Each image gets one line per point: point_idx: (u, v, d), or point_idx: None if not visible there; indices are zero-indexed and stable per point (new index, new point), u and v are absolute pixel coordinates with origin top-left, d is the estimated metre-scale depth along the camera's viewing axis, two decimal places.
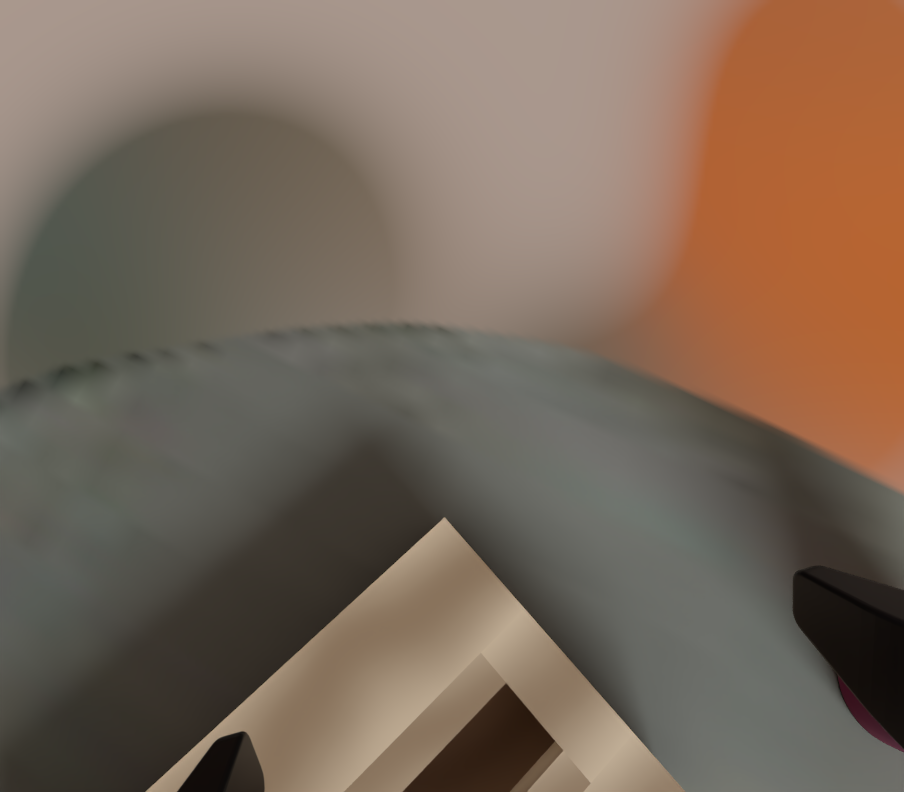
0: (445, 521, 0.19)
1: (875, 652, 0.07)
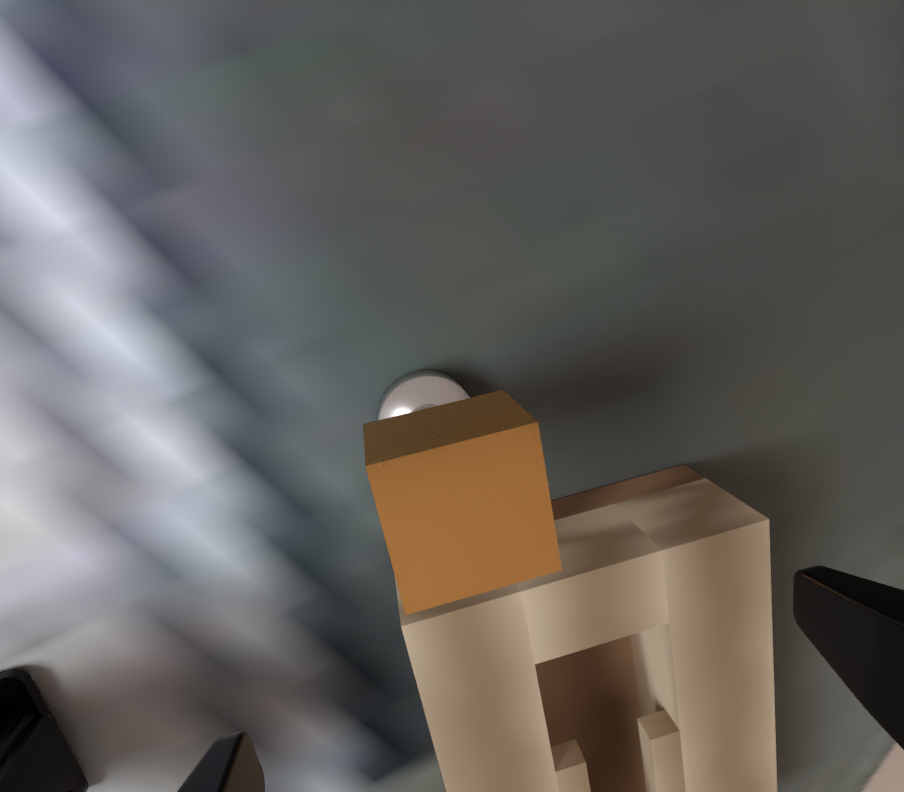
0: None
1: (875, 652, 0.07)
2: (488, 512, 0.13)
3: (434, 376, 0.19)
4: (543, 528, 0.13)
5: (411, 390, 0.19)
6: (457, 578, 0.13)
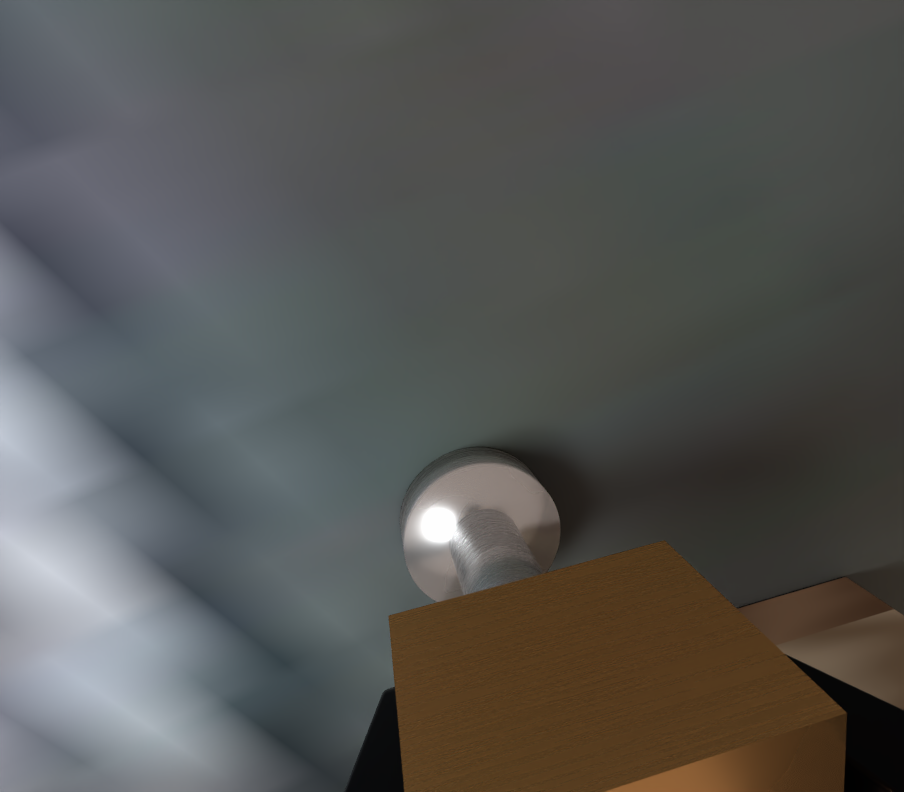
0: None
1: None
2: None
3: (496, 464, 0.12)
4: None
5: (459, 488, 0.12)
6: None
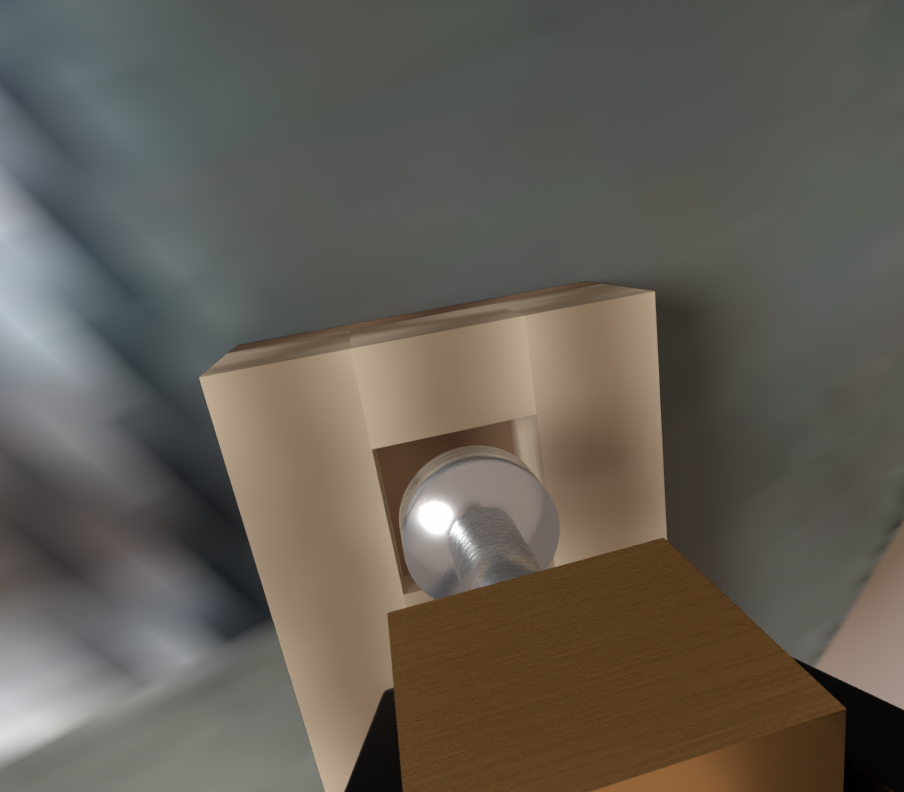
0: None
1: None
2: None
3: (495, 462, 0.12)
4: None
5: (458, 486, 0.12)
6: None
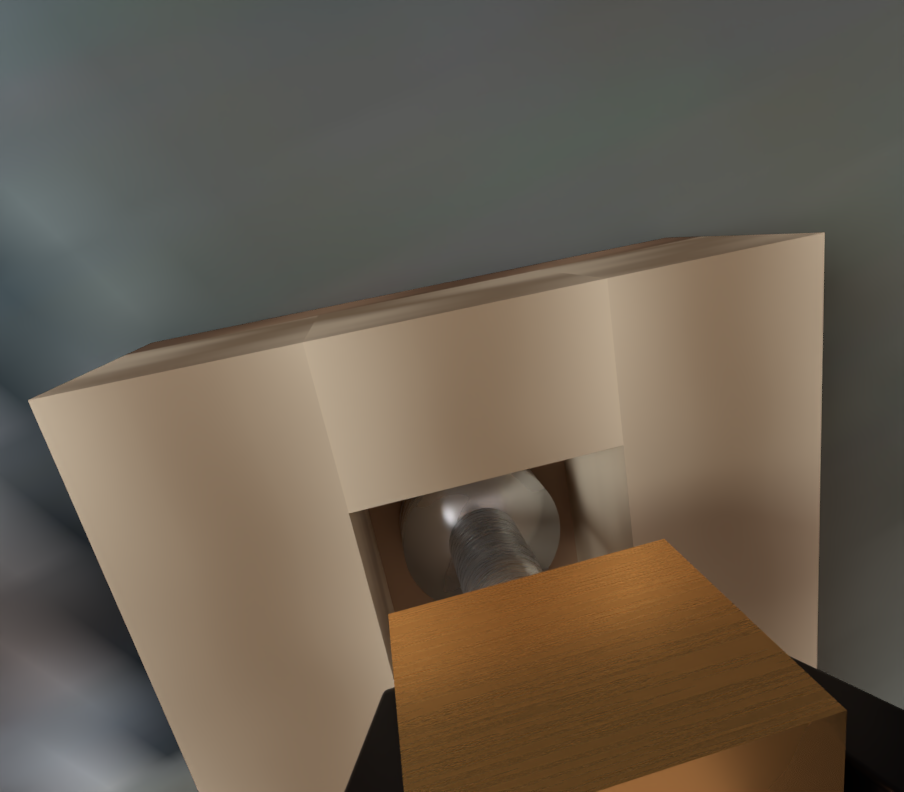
0: None
1: None
2: None
3: None
4: None
5: (458, 487, 0.12)
6: None
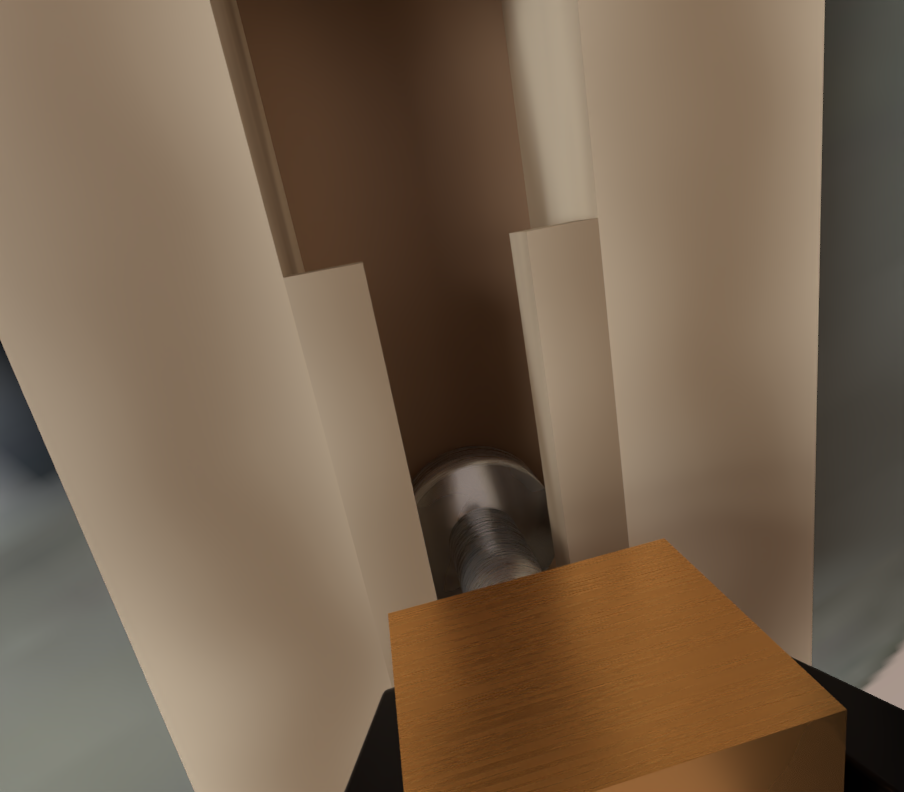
0: None
1: None
2: None
3: (495, 463, 0.12)
4: None
5: (458, 487, 0.12)
6: None
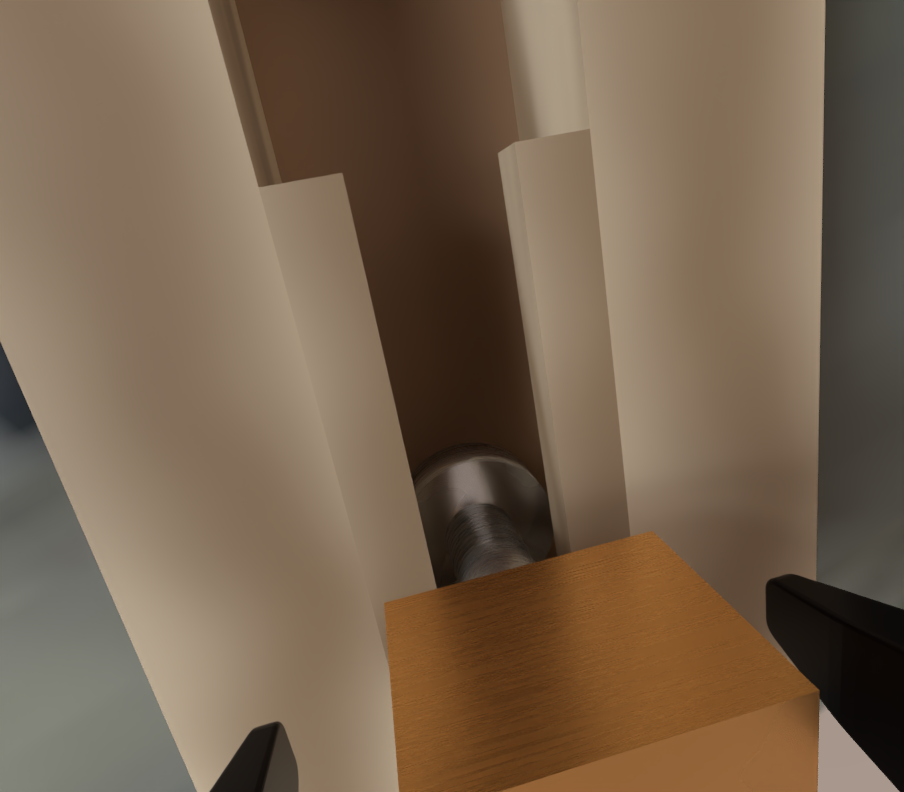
0: None
1: (843, 662, 0.07)
2: None
3: (491, 459, 0.12)
4: None
5: (454, 482, 0.12)
6: None
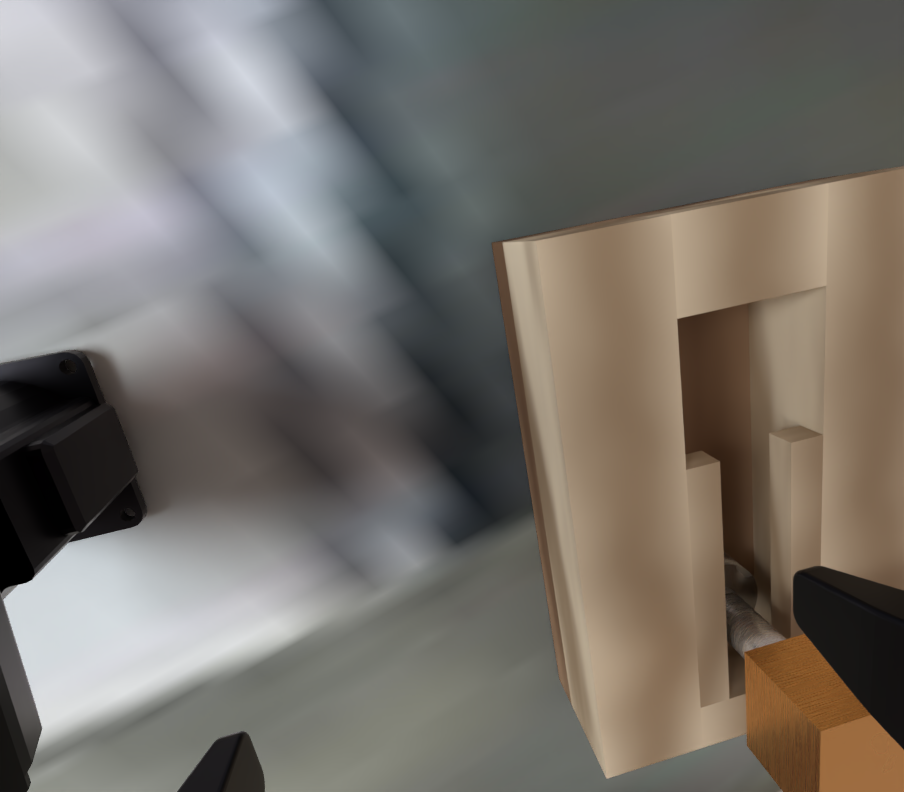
0: None
1: (875, 652, 0.07)
2: (897, 757, 0.15)
3: (727, 562, 0.22)
4: None
5: None
6: None
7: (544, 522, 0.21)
